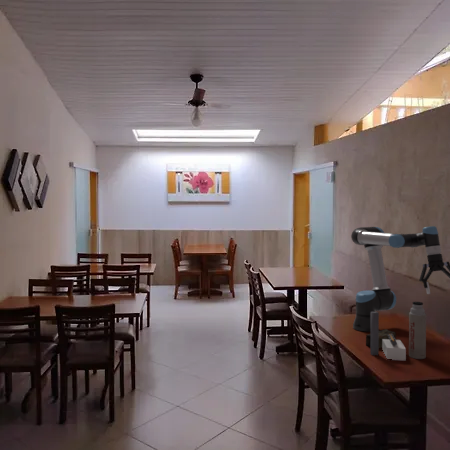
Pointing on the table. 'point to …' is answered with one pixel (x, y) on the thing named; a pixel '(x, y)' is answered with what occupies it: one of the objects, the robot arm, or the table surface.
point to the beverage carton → (380, 337)
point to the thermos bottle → (417, 331)
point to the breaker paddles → (392, 339)
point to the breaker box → (394, 350)
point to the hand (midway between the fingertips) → (441, 292)
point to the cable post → (374, 333)
